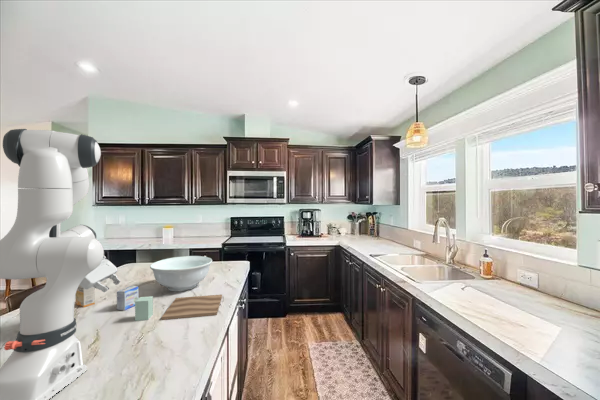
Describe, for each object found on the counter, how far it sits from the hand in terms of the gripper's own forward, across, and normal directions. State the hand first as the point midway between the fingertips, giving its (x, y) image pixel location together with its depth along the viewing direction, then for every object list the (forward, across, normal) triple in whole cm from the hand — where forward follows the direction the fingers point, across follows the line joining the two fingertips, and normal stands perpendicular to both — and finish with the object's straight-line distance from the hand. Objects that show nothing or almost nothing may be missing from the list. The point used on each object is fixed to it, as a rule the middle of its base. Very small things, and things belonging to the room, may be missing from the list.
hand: (113, 286), depth 108 cm
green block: (+18, 0, +2) cm, 18 cm away
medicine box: (+10, +14, +10) cm, 20 cm away
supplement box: (-6, +22, +26) cm, 34 cm away
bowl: (+23, +39, -2) cm, 45 cm away
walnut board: (+32, +7, -12) cm, 34 cm away
